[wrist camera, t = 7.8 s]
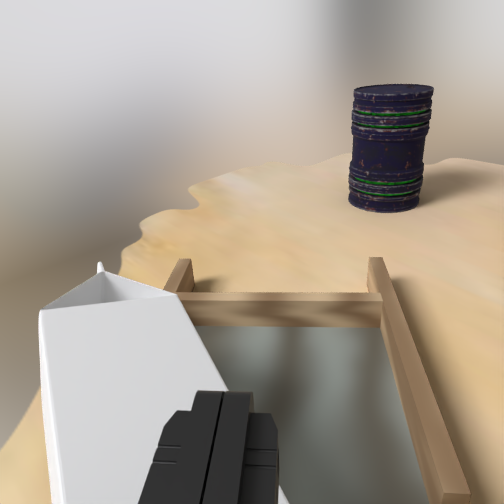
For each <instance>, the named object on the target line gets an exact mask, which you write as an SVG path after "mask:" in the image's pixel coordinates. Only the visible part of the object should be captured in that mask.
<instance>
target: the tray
mask: <svg viewBox="0 0 504 504" xmlns="http://www.w3.org/2000/svg"><path fill="white" fill-rule="evenodd" d="M194 285H195V283H194V276H193V269H192V262H191V259H179V260H178V262H177V264H176V266H175V268H174V270H173V272H172V274H171V275H170V277H169V279H168V281H167V283H166V285H165V287H164V289H163V290H165V291H168V292H171V293H174V294H177V295H178V297H179V299H180V301H181V303H182V305H183V307H184V309H185V310H186V312H187V314H188V316H189V318H190V320H191V322H192V324H193V325H194V327H195V329H196V331H197V333H198V335H199V337H200V338H201V340H202V342H203V344H204V346H205V348H206V350H207V351H208V353H209V355H210V357H211V359H212V361H213V363H214V364H215V366H216V368H217V370H218V372H219V374H220V376H221V377H222V379H223V381H224V383H225V385H226V387H227V389H228V390H229V391H247V392H253V398H254V411H255V413H271V415H272V417H273V420H274V422H275V424H276V427H277V429H278V443H279V465H280V471H279V485H280V487H281V489H282V491H283V493H284V495H285V496H286V498H287V500H288V502H289V504H469V500H470V497H471V492H470V489H469V487H468V484H467V481H466V479H465V476H464V473H463V471H462V468H461V465H460V463H459V460H458V457H457V455H456V452H455V449H454V447H453V444H452V441H451V439H450V436H449V434H448V431H447V428H446V426H445V423H444V420H443V418H442V415H441V412H440V410H439V407H438V404H437V402H436V399H435V396H434V394H433V391H432V388H431V386H430V383H429V380H428V378H427V375H426V372H425V370H424V367H423V364H422V362H421V359H420V356H419V354H418V351H417V348H416V346H415V343H414V340H413V338H412V335H411V332H410V330H409V327H408V324H407V322H406V319H405V317H404V314H403V311H402V309H401V306H400V303H399V301H398V298H397V295H396V293H395V290H394V287H393V285H392V282H391V279H390V277H389V274H388V271H387V269H386V266H385V263H384V261H383V258H382V257H369V264H368V277H367V287H368V291H369V293H252V292H192V290H193V288H194Z"/></svg>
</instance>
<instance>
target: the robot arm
mask: <svg viewBox="0 0 504 504" xmlns="http://www.w3.org/2000/svg"><path fill="white" fill-rule="evenodd" d="M279 471H280V465H279V443H278V429H277V427H276V424H275V422H274V420H273V417H272V415H271V413H255V411H254V398H253V392H247V391H207V390H198V391H197V392H196V394H195V397H194V401H193V405H192V408H191V411H187V410H177V411H176V412H175V413H174V414H173V415H172V417H171V418H170V419H169V420H168V422H167V423H166V424H165V425H164V427H163V430H162V433H161V436H160V439H159V442H158V447H157V448H156V451H155V454H154V457H153V462H152V464H151V466H150V469H149V472H148V475H147V478H146V481H145V484H144V487H143V490H142V493H141V496H140V499H139V501H138V504H278V496H279Z"/></svg>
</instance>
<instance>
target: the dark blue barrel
mask: <svg viewBox="0 0 504 504" xmlns="http://www.w3.org/2000/svg"><path fill="white" fill-rule="evenodd" d="M433 90H434V88H433V87H431V86H427V85H418V84H384V85H373V86H364V87H360V88H356V89H354V98H355V99H354V102H353V109H354V110H352V120H353V122H352V127H351V129H352V135H353V152H352V161H351V162H350V167H349V170H350V171H349V172H350V173H349V181H348V182H349V190H350V193H349V198H348V200H349V202H350V204H352V205H353V206H355V207H357V208H359V209H362V210H366V211H371V212H379V213H395V212H403V211H407V210H411V209H413V208H415V207H416V206H417V205H418V203H419V193H420V190H421V188H420V187H421V186H422V181H423V175H422V174H423V170H424V163H423V162H422V159H423V152H424V145H425V137H426V135H427V133H428V130H429V120H430V119H431V111H432V110H431V109H430V108H431V106H432V100H431V97H432V95H433Z"/></svg>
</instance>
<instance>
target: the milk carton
mask: <svg viewBox="0 0 504 504" xmlns="http://www.w3.org/2000/svg"><path fill="white" fill-rule="evenodd" d="M39 349H40V373H41V396H42V410H43V421H44V431H45V441H46V450H47V460H48V470H49V480H50V489H51V499H52V504H138V501H139V499H140V496H141V493H142V490H143V487H144V484H145V481H146V478H147V475H148V472H149V469H150V466H151V464H152V462H153V457H154V454H155V451H156V448H157V447H158V442H159V439H160V436H161V433H162V430H163V427H164V425H165V424H166V423H167V422H168V420H169V419H170V418H171V417H172V415H173V414H174V413H175V412H176V411H177V410H187V411H191V408H192V405H193V401H194V397H195V394H196V392H197V391H198V390H207V391H229V390H228V389H227V387H226V385H225V383H224V381H223V379H222V377H221V376H220V374H219V372H218V370H217V368H216V366H215V364H214V363H213V361H212V359H211V357H210V355H209V353H208V351H207V350H206V348H205V346H204V344H203V342H202V340H201V338H200V337H199V335H198V333H197V331H196V329H195V327H194V325H193V324H192V322H191V320H190V318H189V316H188V314H187V312H186V310H185V309H184V307H183V305H182V303H181V301H180V299H179V297H178V295H177V294H174V293H171V292H168V291H165V290H162V289H159V288H155V287H152V286H149V285H146V284H143V283H140V282H137V281H134V280H131V279H128V278H124V277H121V276H118V275H115V274H112V273H109V272H106V271H104V268H103V265H102V262H98V268H97V275H95V276H93V277H92V278H90V279H88V280H87V281H85V282H84V283H82V284H81V285H79V286H77V287H76V288H74V289H72V290H71V291H69V292H68V293H66V294H64V295H63V296H61V297H60V298H58V299H56V300H55V301H53V302H52V303H50V304H48V305H47V306H45V307H44V308H42V309H41V310H40V313H39ZM278 504H289V502H288V500H287V498H286V496H285V495H284V493H283V491H282V489H281V487H280V485H279V496H278Z"/></svg>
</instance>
